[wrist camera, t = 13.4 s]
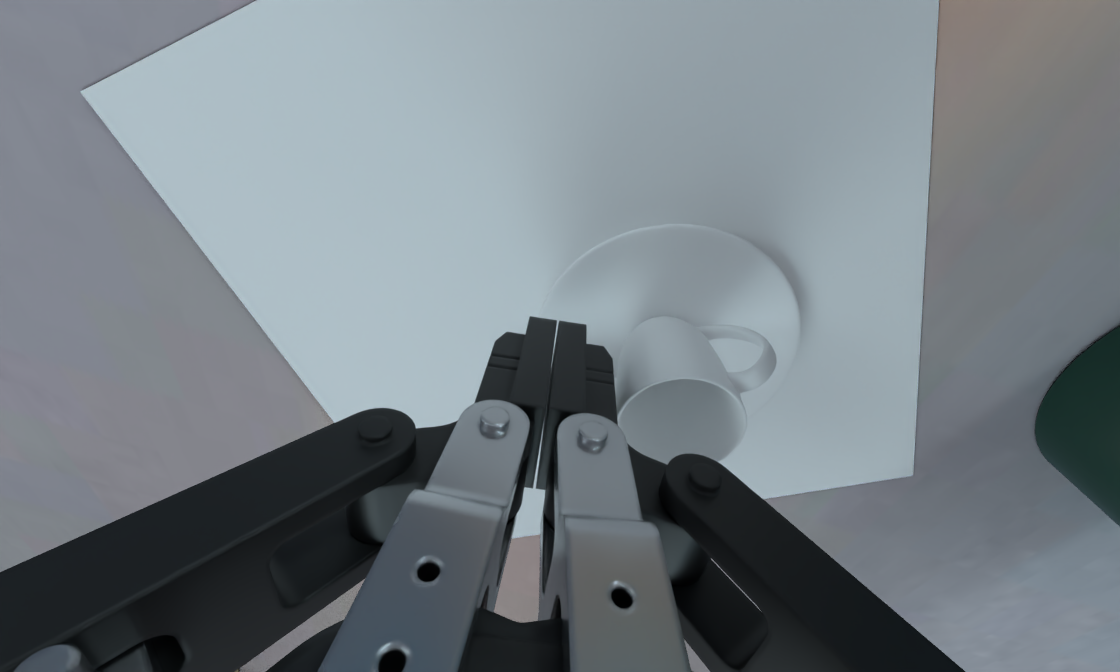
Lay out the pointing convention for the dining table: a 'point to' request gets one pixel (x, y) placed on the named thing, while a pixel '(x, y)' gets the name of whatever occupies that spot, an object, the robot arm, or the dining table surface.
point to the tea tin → (1086, 424)
